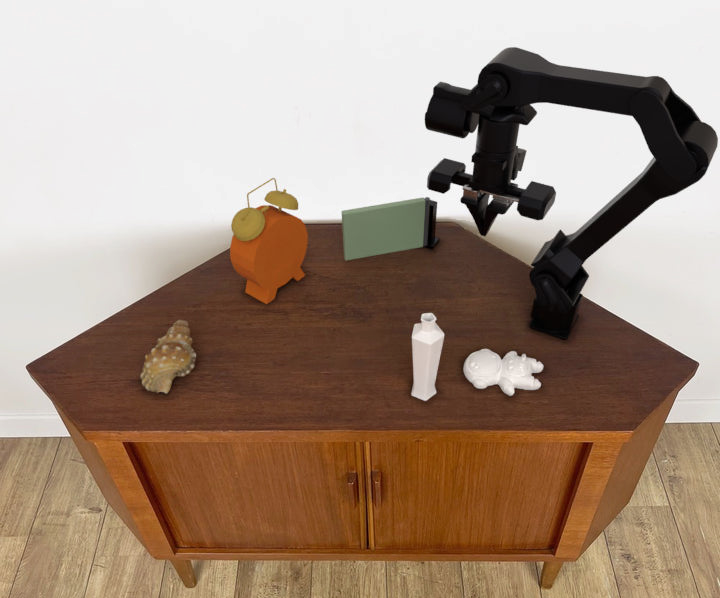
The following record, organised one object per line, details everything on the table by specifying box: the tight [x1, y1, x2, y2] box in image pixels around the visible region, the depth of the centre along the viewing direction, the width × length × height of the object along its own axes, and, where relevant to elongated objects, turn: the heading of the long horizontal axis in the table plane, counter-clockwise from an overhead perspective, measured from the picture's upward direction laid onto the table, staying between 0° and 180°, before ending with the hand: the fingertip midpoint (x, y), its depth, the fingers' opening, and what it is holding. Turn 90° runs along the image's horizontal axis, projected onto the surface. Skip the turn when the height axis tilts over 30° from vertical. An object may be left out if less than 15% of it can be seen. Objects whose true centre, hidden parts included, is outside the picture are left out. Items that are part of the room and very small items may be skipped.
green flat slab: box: [341, 196, 431, 262], centre depth 121 cm, size 16×3×10 cm, turn 104°
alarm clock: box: [229, 177, 309, 305], centre depth 113 cm, size 13×6×20 cm, turn 141°
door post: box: [422, 199, 440, 251], centre depth 124 cm, size 3×3×9 cm
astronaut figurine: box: [462, 348, 544, 397], centre depth 102 cm, size 9×12×3 cm
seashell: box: [140, 319, 197, 395], centre depth 104 cm, size 9×8×10 cm
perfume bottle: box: [410, 312, 445, 402], centre depth 96 cm, size 5×4×15 cm
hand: (484, 234), depth 107 cm, fingers closed
